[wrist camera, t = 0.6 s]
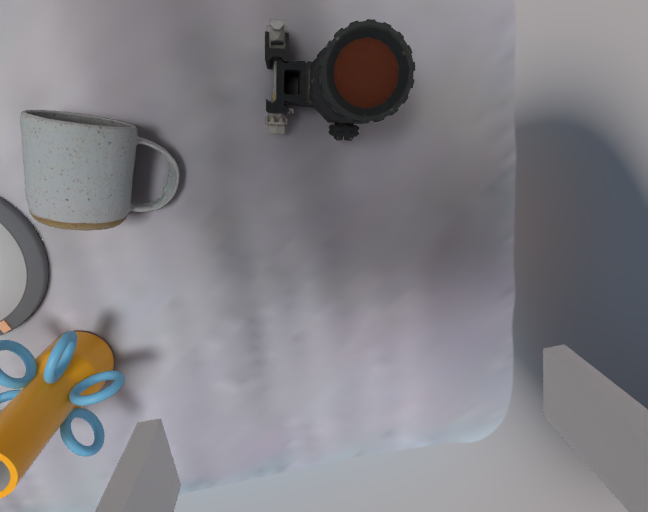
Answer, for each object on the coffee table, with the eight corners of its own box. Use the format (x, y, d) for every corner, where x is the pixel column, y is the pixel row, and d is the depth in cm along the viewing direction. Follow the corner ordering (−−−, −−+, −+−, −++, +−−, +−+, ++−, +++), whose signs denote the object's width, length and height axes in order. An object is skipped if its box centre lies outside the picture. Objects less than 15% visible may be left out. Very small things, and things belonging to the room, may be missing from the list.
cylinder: (40, 283, 41) (-90, 370, 27) (155, 320, 43) (91, 419, 28) (10, 395, 44) (-122, 528, 29) (119, 425, 46) (44, 563, 31)
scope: (258, -21, 24) (444, -7, 24) (266, 31, 37) (387, 38, 38) (258, 141, 26) (429, 147, 27) (266, 135, 39) (380, 139, 40)
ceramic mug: (53, 207, 39) (2, 227, 32) (51, 109, 37) (-3, 106, 30) (179, 222, 41) (158, 244, 33) (185, 129, 38) (164, 131, 31)
